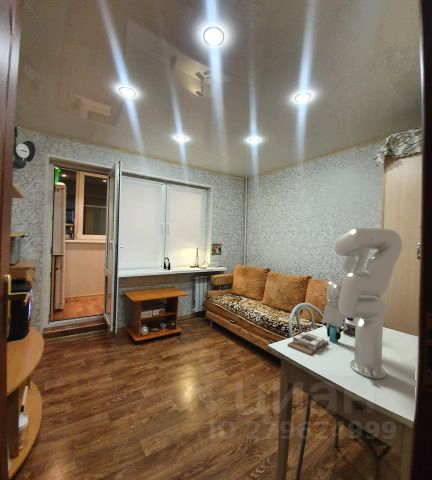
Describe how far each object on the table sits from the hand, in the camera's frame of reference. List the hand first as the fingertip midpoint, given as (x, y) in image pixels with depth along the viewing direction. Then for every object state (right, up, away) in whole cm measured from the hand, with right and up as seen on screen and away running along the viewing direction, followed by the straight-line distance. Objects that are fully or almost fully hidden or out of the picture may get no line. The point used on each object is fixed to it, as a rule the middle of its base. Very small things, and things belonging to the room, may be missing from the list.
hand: (333, 337), depth 121 cm
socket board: (-16, -2, -5) cm, 16 cm away
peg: (0, -2, 0) cm, 2 cm away
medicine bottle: (+16, -3, +10) cm, 19 cm away
